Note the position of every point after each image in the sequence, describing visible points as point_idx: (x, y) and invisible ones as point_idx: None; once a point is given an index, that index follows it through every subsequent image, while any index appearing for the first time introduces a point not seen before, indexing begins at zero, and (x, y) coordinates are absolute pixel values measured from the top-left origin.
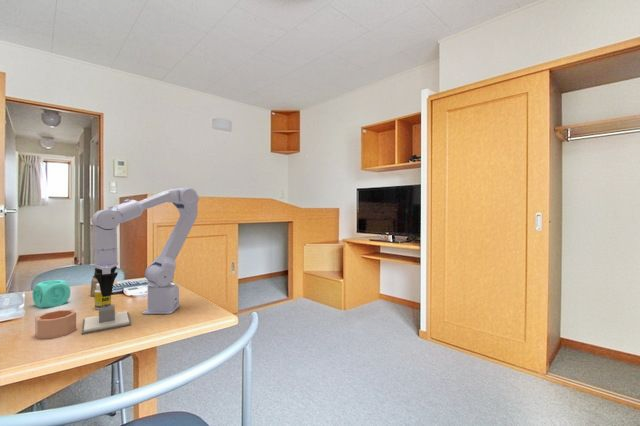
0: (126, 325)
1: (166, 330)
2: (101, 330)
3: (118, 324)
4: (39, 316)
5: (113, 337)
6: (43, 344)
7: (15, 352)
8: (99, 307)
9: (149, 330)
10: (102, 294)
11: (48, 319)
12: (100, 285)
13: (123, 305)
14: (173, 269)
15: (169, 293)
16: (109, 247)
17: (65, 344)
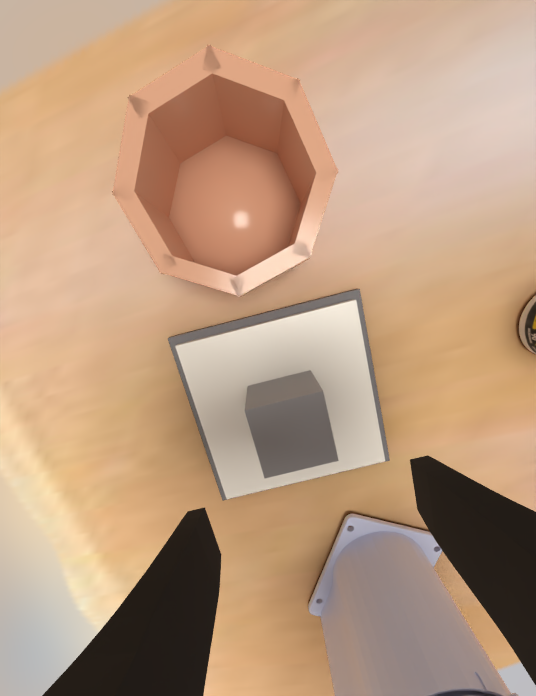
0: (218, 483)
1: None
2: (191, 403)
3: (215, 462)
4: (224, 68)
5: (108, 461)
6: (94, 213)
7: (24, 124)
8: (528, 315)
9: (149, 560)
10: (176, 531)
11: (137, 166)
12: (97, 642)
13: (531, 410)
14: None
15: None
16: None
17: (74, 307)
